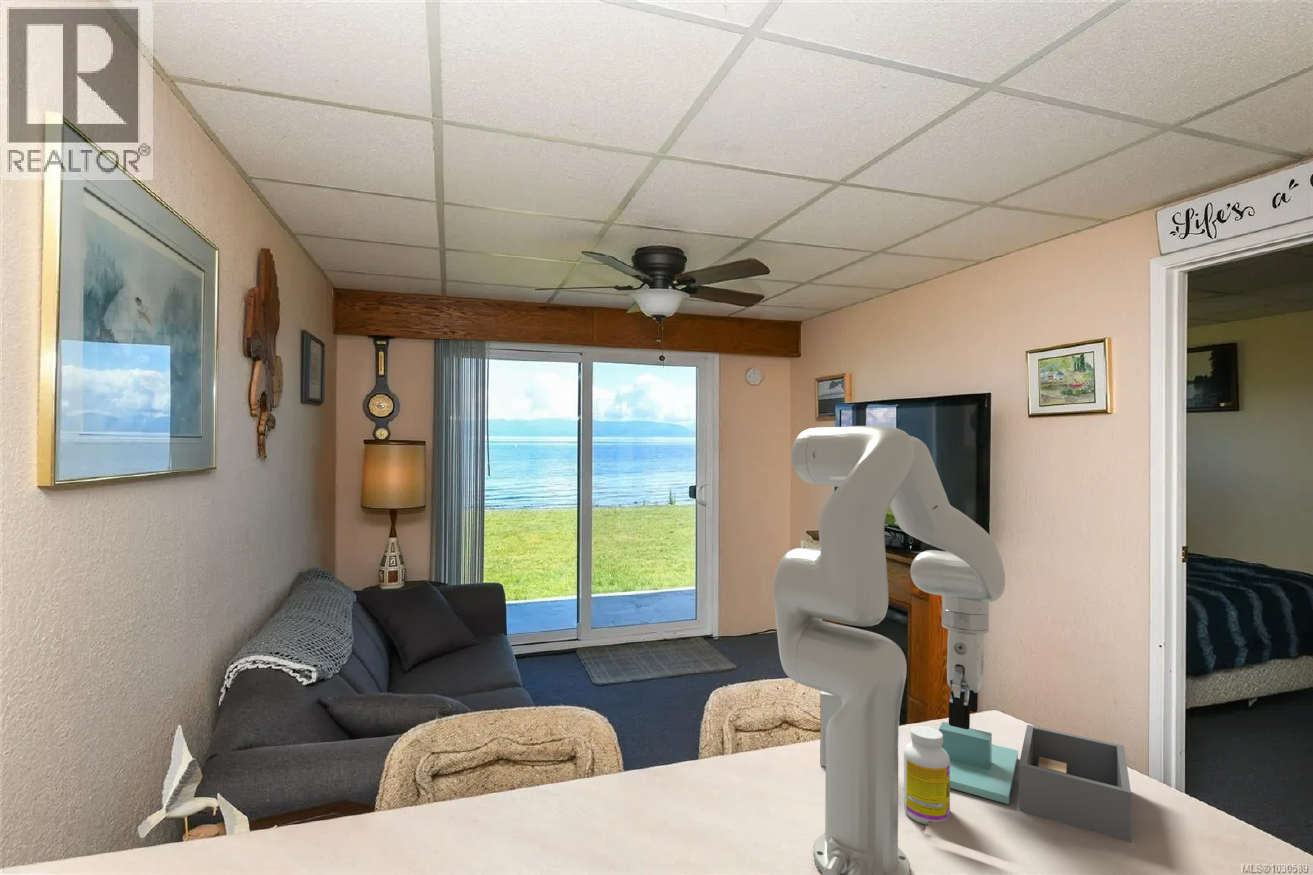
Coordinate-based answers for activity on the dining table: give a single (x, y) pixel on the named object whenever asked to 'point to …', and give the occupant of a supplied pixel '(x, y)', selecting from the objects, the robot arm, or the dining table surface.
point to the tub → (1076, 782)
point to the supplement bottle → (926, 776)
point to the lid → (979, 763)
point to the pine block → (1052, 765)
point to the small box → (826, 719)
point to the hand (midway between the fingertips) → (963, 718)
